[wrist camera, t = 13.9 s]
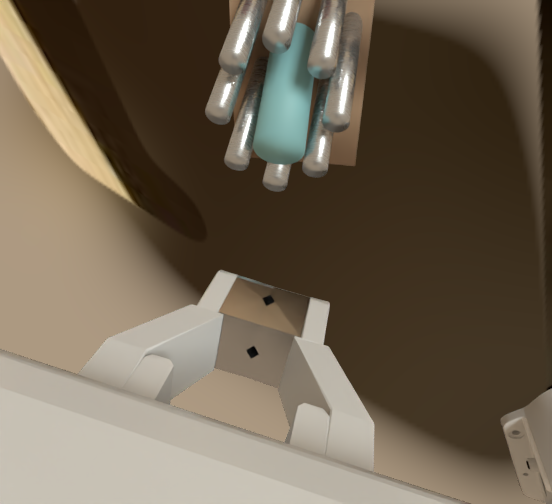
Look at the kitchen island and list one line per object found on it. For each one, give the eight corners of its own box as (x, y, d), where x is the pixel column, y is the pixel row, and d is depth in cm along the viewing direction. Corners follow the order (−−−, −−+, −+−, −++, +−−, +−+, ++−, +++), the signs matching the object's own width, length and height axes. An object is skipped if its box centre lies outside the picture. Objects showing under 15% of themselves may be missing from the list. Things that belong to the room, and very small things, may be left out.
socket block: (238, -80, 29) (225, -88, 26) (384, -83, 27) (385, -91, 24) (244, 145, 37) (235, 156, 34) (356, 154, 35) (355, 166, 33)
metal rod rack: (244, -77, 28) (185, -114, 19) (374, -79, 27) (375, -120, 18) (249, 143, 36) (208, 189, 27) (349, 151, 35) (341, 202, 26)
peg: (318, 22, 27) (304, 132, 23) (317, 62, 30) (305, 165, 26) (269, 21, 27) (249, 130, 24) (274, 61, 30) (256, 163, 26)
